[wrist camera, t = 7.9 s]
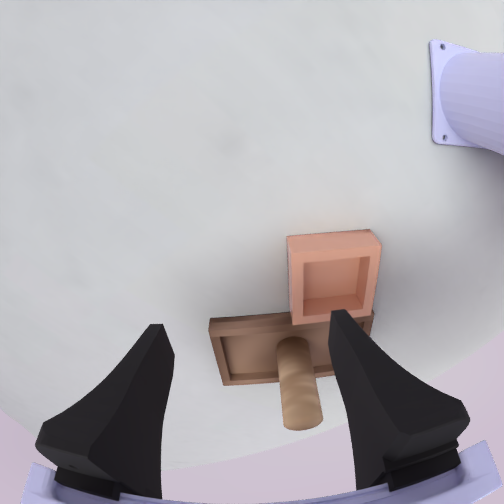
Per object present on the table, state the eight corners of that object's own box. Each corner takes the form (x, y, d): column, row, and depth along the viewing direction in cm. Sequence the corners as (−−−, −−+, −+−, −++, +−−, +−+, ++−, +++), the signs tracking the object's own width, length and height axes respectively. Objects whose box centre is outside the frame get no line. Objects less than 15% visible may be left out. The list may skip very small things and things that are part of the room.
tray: (368, 302, 25) (374, 313, 24) (357, 360, 29) (360, 370, 28) (209, 318, 26) (208, 330, 24) (224, 374, 30) (223, 385, 28)
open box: (369, 229, 22) (381, 245, 20) (361, 296, 25) (370, 315, 23) (286, 236, 22) (291, 253, 20) (289, 304, 25) (292, 325, 23)
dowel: (308, 334, 26) (323, 409, 19) (308, 355, 28) (322, 427, 21) (274, 338, 26) (282, 415, 19) (277, 359, 28) (284, 432, 21)
